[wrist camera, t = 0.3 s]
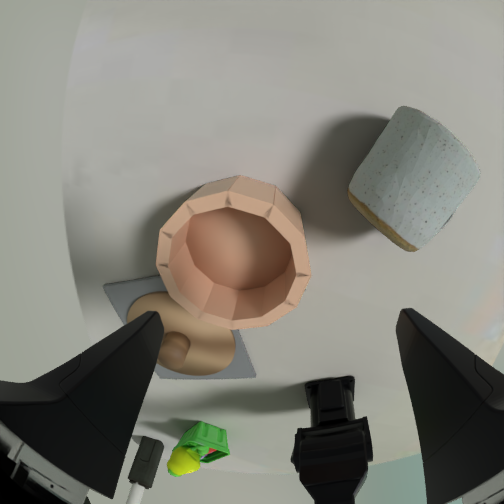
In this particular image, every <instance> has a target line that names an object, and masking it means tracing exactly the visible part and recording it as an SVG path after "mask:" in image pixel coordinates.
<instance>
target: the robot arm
mask: <svg viewBox="0 0 504 504" xmlns="http://www.w3.org/2000/svg"><path fill="white" fill-rule="evenodd" d="M396 335H397V340H398V345H399V351H400V357H401V362H402V367H403V371H404V375H405V379H406V382H407V386H408V390H409V394H410V398H411V402H412V407H413V411H414V416H415V420H416V425H417V430H418V436H419V441H420V447H421V453H422V460H423V462H424V463H423V467H424V476H425V484H426V496H427V504H447V503H450V502H452V501H454V500H457V499H458V498H461V497H462V502H463V504H504V374H502V373H501V372H499V371H498V370H496V369H495V368H493V367H492V366H491V365H489V364H488V363H487V362H485V361H484V360H482V359H481V358H480V357H479V356H477V355H475V354H474V353H473V352H472V351H471V350H469V349H468V348H467V347H465V346H464V345H463V344H461V343H460V342H459V341H457V340H456V339H454V338H453V337H452V336H450V335H449V334H448V333H446V332H445V331H443V330H442V329H441V328H439V327H438V326H437V325H435V324H434V323H432V322H431V321H430V320H428V319H427V318H425V317H424V316H422V315H421V314H420V313H418V312H417V311H415V310H414V309H412V308H405V309H402V310H401V311H400V314H399V318H398V321H397V325H396ZM163 336H164V326H163V323H162V320H161V317H160V314H159V312H157V311H146V312H145V313H143V314H142V315H140V316H139V317H137V318H135V319H134V320H132V321H131V322H129V323H128V324H126V325H124V326H123V327H121V328H120V329H118V330H116V331H115V332H113V333H112V334H110V335H109V336H107V337H105V338H104V339H102V340H101V341H99V342H98V343H96V344H95V345H93V346H91V347H90V348H88V349H87V350H85V351H84V352H82V354H79V355H77V356H76V357H74V358H73V359H71V360H69V361H68V362H66V363H64V364H63V365H61V366H59V367H57V368H55V369H54V370H52V371H50V372H48V373H46V374H44V375H42V376H40V377H38V378H37V379H35V380H33V381H30V382H26V383H14V382H7V381H0V504H91V503H90V501H89V499H88V497H87V493H88V491H89V489H91V490H93V491H95V492H97V493H99V494H101V495H104V496H106V497H108V498H110V499H113V497H114V493H115V490H116V486H117V483H118V479H119V476H120V472H121V469H122V466H123V462H124V459H125V455H126V452H127V448H128V445H129V442H130V439H131V436H132V433H133V430H134V427H135V424H136V421H137V418H138V415H139V412H140V409H141V406H142V403H143V400H144V397H145V394H146V392H147V389H148V386H149V383H150V380H151V378H152V375H153V372H154V369H155V366H156V363H157V359H158V355H159V351H160V347H161V343H162V339H163ZM354 387H355V379H354V377H353V376H350V377H344V378H338V379H332V380H326V381H319V382H312V383H307V384H305V390H306V395H307V400H308V405H309V408H310V411H311V427H310V428H298V429H297V434H295V444H294V449H293V452H292V456H291V462H292V463H293V464H294V466H295V469H296V472H297V473H299V478H300V481H301V483H302V484H303V486H304V487H305V488H306V490H307V491H308V493H309V494H310V495H311V497H312V498H313V499H314V501H315V504H355V497H356V495H357V493H358V492H359V490H360V489H361V487H362V485H363V484H364V482H365V480H366V478H367V472H368V462H371V461H373V450H372V441H371V436H370V430H369V425H368V420H367V416H366V417H362V418H360V419H355V412H354V405H353V401H354Z"/></svg>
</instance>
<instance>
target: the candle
mask: <svg viewBox="0 0 504 504" xmlns="http://www.w3.org/2000/svg"><path fill="white" fill-rule="evenodd" d="M163 449H164V445H163V443H162V442H161V441H159V440H155V439H152V438H148V437H146V436H143V437H142V440H141V443H140V445H139V449H138V451H137V453H136V456H135V459H134V462H133V465H132V468H131V470H130V473H129V476H128V479H129V480H130V481H129V482H130V483H132V487H131V490H130V493H129V496H128V499H127V502H126V504H140V502H141V499H142V496H143V492H144V489H149V488H151V487H152V484H153V481H154V478H155V475H156V471H157V468H158V465H159V462H160V459H161V456H162V452H163Z"/></svg>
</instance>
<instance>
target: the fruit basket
mask: <svg viewBox="0 0 504 504" xmlns="http://www.w3.org/2000/svg"><path fill="white" fill-rule="evenodd" d="M172 451H173V452H172V454H171V457H170V459H169V461H168V462H167V467H168V472H169V473H170V474H171V475H173V476H175V477H178V476H181V475H182V474H186V473H192V472H194V471H197V470H198V469H199V468H200V462H203V463H210V462H212V461H215V460H217V459H220V458H222V457H225V456H228V455H230V452H229V449H228V443H227V435H226V430H224V429H220V428H218V427H215V426H212V425H210V424H205V423H204V422H202V421H200V422H199V423H197V425H195V426H193V427H192V428H191V429H189V430H188V431H187V432H185V433H184V435H183V436H182V438H181V439H180V441H179V443H178V444H177V446H176V447H174V449H173V450H172Z"/></svg>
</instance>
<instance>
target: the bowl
mask: <svg viewBox="0 0 504 504" xmlns="http://www.w3.org/2000/svg"><path fill="white" fill-rule="evenodd" d="M156 267H157V269H158V271H159V273H160V276H161V278H162V280H163V282H164V284H165V286H166V289H167V291H168V293H169V295H170V296H171V298H172V299H174V300H175V301H176V302H177V303H178V304H180V305H181V306H182V307H183V308H184V309H186V310H187V311H188V312H189V313H190V314H192V315H193V316H194V317H195V318H197V319H198V320H201V321H204V322H207V323H211V324H214V325H217V326H221V327H224V328H227V329H231V330H236V329H245V328H254V327H263V326H268V325H270V324H271V323H273V322H274V321H276V320H278V319H279V318H281V317H282V316H284V315H285V314H287V313H288V312H290V311H291V310H293V309H294V308H296V307H297V305H298V303H299V301H300V299H301V297H302V295H303V293H304V290H305V288H306V286H307V284H308V282H309V280H310V278H311V270H310V263H309V257H308V251H307V245H306V239H305V234H304V229H303V223H302V218H301V213H300V211H299V210H298V209H297V208H296V207H295V206H294V205H293V204H292V203H291V202H290V201H289V199H288V198H287V197H286V196H285V195H284V194H283V193H282V192H281V191H280V190H279V189H278V188H277V187H276V186H274V185H271V184H268V183H265V182H261V181H258V180H255V179H251V178H248V177H244V176H241V175H239V176H234V177H230V178H226V179H222V180H218V181H215V182H211V183H207V184H205V185H203V186H202V187H201V188H200V189H199V190H198V191H197V192H195V193H194V194H193V195H192V196H191V197H190V198H189V199H187V200H186V201H185V202H184V203H183V204H182V205H181V207H180V208H179V209H178V210H177V211H176V212H175V213H174V214H173V215H172V217H171V218H170V219H169V220H168V221H167V222H166V223H165V225H164V226H163V227H162V228H161V229H160V232H159V240H158V248H157V258H156Z"/></svg>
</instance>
